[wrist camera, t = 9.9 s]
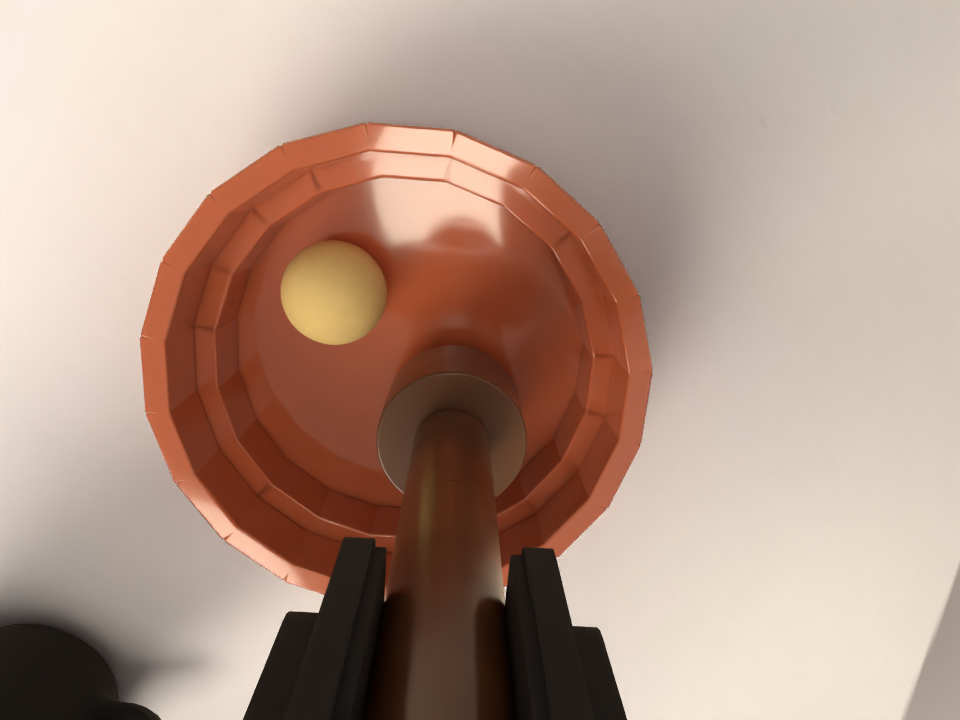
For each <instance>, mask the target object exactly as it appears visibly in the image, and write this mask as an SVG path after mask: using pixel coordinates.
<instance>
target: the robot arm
mask: <svg viewBox="0 0 960 720" xmlns="http://www.w3.org/2000/svg"><path fill="white" fill-rule="evenodd" d="M385 574H386V547H376V540H375V538H361V537H344V538H343V541H342V544H341V547H340V550H339V553H338V556H337V559H336V562H335V565H334V568H333V571H332V574H331V577H330V580H329V583H328V586H327V589H326V592H325V595H324V598H323V601H322V604H321V607H320V610H319V613H310V612H291V611H289V612H288V613H287V614H286V616H285V618H284V620H283V622H282V624H281V627H280V629H279V632H278V634H277V637H276V639H275V642H274V644H273V647H272V649H271V652H270V654H269V657H268V659H267V661H266V664H265V666H264V669H263V671H262V674H261V676H260V679H259V681H258V684H257V686H256V689H255V691H254V694H253V696H252V699H251V701H250V704H249V706H248V708H247V711H246V713H245V716H244V718H243V720H363V714H364V709H365V703H366V698H367V693H368V687H369V682H370V676H371V671H372V666H373V660H374V655H375V649H376V644H377V639H378V633H379V628H380V622H381V617H382V612H383V606H384V596H385ZM505 613H506V623H507V634H508V644H509V655H510V665H511V676H512V687H513V697H514V708H515V718H516V720H627V718H626V714H625V711H624V708H623V704H622V701H621V698H620V694H619V691H618V688H617V684H616V681H615V678H614V674H613V671H612V667H611V664H610V661H609V657H608V654H607V651H606V647H605V644H604V641H603V637H602V635H601V632H600V630H599V629H598V628H597V627H579V626H572V622H571V618H570V614H569V610H568V606H567V601H566V597H565V593H564V589H563V585H562V580H561V576H560V572H559V568H558V564H557V560H556V555H555V552H554V549H552V548H535V547H523V548H522V552H521V555H513V554H511V557H510V563H509V572H508V581H507V590H506V600H505Z"/></svg>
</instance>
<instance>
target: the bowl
mask: <svg viewBox="0 0 960 720" xmlns="http://www.w3.org/2000/svg"><path fill="white" fill-rule="evenodd" d="M329 240H337V241H344V242H348V243H351V244H353V245H356V246H358V247H359V248H361V249H363V250H364V251H366V252H367V253H368V254H369V255H370V256H371V257H372V258H373V259H374V260H375V261H376V262H377V264H378V265H379V267H380V269H381V270H382V273H383V275H384V278H385V281H386V286H387V302H386V306H385V310H384V312H383V315H382V317H381V319H380V321H379V322H378V323H377V325H376V326H375V327H374V328H373V329H372V330H371V331H370V332H369V333H368V334H367V335H365V336H364V337H362V338H360V339H359V340H356V341H354V342H350V343H347V344H341V345H330V344H323V343H320V342H317V341H314V340H312V339H310V338H308V337H306V336H305V335H303V334H302V333H300V332H299V331H298V330H297V329H296V328H295V327H294V326H293V324H292V323H291V322H290V320H289V319H288V317H287V315H286V313H285V311H284V308H283V305H282V301H281V282H282V278H283V275H284V272H285V270H286V268H287V266H288V264H289V263H290V261H291V260H292V259H293V258H294V257H295V256H296V255H297V254H298V253H299V252H300V251H301V250H303V249H304V248H306V247H308V246H310V245H312V244H314V243H318V242H322V241H329ZM140 345H141V358H142V372H143V385H144V399H145V412H146V413H147V414H146V416H147V418H148V421H149V423H150V425H151V428H152V430H153V432H154V435H155V437H156V440H157V442H158V444H159V447H160V449H161V451H162V454H163V456H164V459H165V461H166V463H167V466H168V468H169V471H170V473H171V475H172V478H173V480H174V482H175V483H177V486H178V487H179V488H180V490H181V491H182V492H183V493H184V494H185V495H186V497H187V498H188V499H189V500H190V501H191V503H192V504H193V505H194V506H195V507H196V509H197V510H198V511H199V512H200V513H201V514H202V516H203V517H204V518H205V519H206V520H207V522H208V523H209V524H210V525H211V526H212V528H213V529H214V530H215V531H216V532H217V533H218V535H219V536H220V537H221V538H222V539H225V542H227V543H228V544H230V545H231V546H233V547H234V548H236V549H237V550H239V551H240V552H242V553H243V554H245V555H246V556H248V557H249V558H251V559H252V560H254V561H255V562H257V563H258V564H260V565H261V566H263V567H264V568H266V569H267V570H269V571H270V572H272V573H273V574H275V575H276V576H278V577H279V578H281V579H282V580H285V582H287V583H290V584H293V585H296V586H299V587H302V588H306V589H309V590H312V591H315V592H318V593H321V594H324V595H325V592H326V589H327V586H328V583H329V580H330V577H331V574H332V571H333V568H334V565H335V562H336V559H337V556H338V553H339V550H340V547H341V544H342V541H343V538H344V537H361V538H375V540H376V547H386V574H385V592H386V587H387V582H388V576H389V571H390V565H391V560H392V555H393V549H394V544H395V539H396V533H397V528H398V523H399V517H400V512H401V507H402V501H403V496H404V494H402V493H401V492H400V491H399V490H398V489H397V488H396V487H395V486H394V485H393V484H392V483H391V482H390V480H389V479H388V477H387V476H386V474H385V473H384V470H383V468H382V466H381V464H380V461H379V458H378V453H377V448H376V435H377V428H378V424H379V420H380V417H381V414H382V411H383V408H384V405H385V402H386V399H387V396H388V394H389V391H390V388H391V385H392V383H393V381H394V379H395V377H396V375H397V374H398V372H399V371H400V370H401V369H402V367H403V366H404V365H405V364H406V363H407V362H408V361H410V360H411V359H412V358H414V357H415V356H417V355H418V354H420V353H422V352H424V351H427V350H429V349H432V348H436V347H440V346H447V345H459V346H466V347H470V348H474V349H477V350H479V351H482V352H484V353H486V354H487V355H489V356H491V357H492V358H494V359H495V360H496V361H498V362H499V363H500V364H501V365H502V366H503V367H504V369H505V370H506V371H507V372H508V374H509V375H510V377H511V379H512V381H513V383H514V385H515V388H516V391H517V395H518V399H519V403H520V407H521V411H522V415H523V419H524V423H525V427H526V434H527V449H526V454H525V458H524V461H523V464H522V467H521V469H520V471H519V473H518V475H517V476H516V478H515V479H514V481H513V482H512V483H511V484H510V485H509V486H508V488H507V489H505V490H504V491H503V492H502V493H501V494H500V495H498V496H497V497H495V503H496V514H497V524H498V534H499V545H500V555H501V565H502V576H503V586H504V587H505V586H507V581H508V572H509V563H510V557H511V554H513V555H521V552H522V548H523V547H535V548H552V549H554V552H555V555H556V557H559V556H560V555H561V554H562V553H563V552H564V551H565V550H566V549H567V548H568V547H569V546H570V545H571V544H572V543H573V542H574V541H575V540H576V539H577V538H578V537H579V536H580V535H581V534H582V533H583V532H584V531H585V530H586V529H587V528H588V527H589V526H590V525H591V524H592V523H593V522H594V521H595V520H596V519H597V518H598V517H599V516H600V515H601V514H602V513H603V512H604V511H605V510H606V508H608V507H609V505H610V503H611V501H612V499H613V497H614V495H615V493H616V492H617V490H618V488H619V486H620V484H621V482H622V480H623V478H624V476H625V474H626V472H627V470H628V468H629V467H630V465H631V463H632V461H633V459H634V457H635V455H636V453H637V451H638V449H639V447H640V444H641V440H642V434H643V428H644V422H645V416H646V409H647V403H648V397H649V391H650V385H651V378H652V364H651V358H650V352H649V346H648V340H647V334H646V328H645V323H644V317H643V311H642V305H641V299H640V296H639V295H638V291H637V289H636V287H635V285H634V284H633V282H632V280H631V278H630V276H629V274H628V273H627V271H626V269H625V267H624V265H623V263H622V262H621V260H620V258H619V256H618V254H617V253H616V251H615V249H614V247H613V245H612V243H611V242H610V240H609V238H608V236H607V234H606V232H605V231H604V229H603V227H602V225H600V224H599V222H598V220H597V219H595V218H594V217H593V216H592V215H591V214H590V213H589V212H588V211H587V210H586V209H585V208H583V207H582V206H581V205H580V204H579V203H578V202H577V201H576V200H575V199H574V198H572V197H571V196H570V195H569V194H568V193H567V192H566V191H565V190H564V189H563V188H562V187H560V186H559V185H558V184H557V183H556V182H555V181H554V180H553V179H552V178H551V177H549V176H548V175H547V174H546V173H545V172H544V171H543V170H542V169H541V168H540V167H536V165H535V164H533V163H531V162H529V161H527V160H524V159H522V158H520V157H517V156H515V155H513V154H511V153H508V152H506V151H504V150H501V149H499V148H497V147H495V146H492V145H490V144H488V143H485V142H483V141H481V140H479V139H476V138H474V137H472V136H469V135H467V134H465V133H463V132H460V131H456V132H455V130H453V129H444V128H432V127H420V126H408V125H396V124H384V123H372V122H368V123H367V124H366V123H361V124H357V125H353V126H349V127H345V128H341V129H337V130H333V131H329V132H326V133H322V134H318V135H314V136H310V137H306V138H302V139H298V140H294V141H291V142H287V143H283V144H282V146H277V147H275V148H274V149H273V150H271V151H270V152H268V153H267V154H265V155H264V156H262V157H261V158H259V159H258V160H256V161H255V162H253V163H252V164H250V165H249V166H248V167H246V168H245V169H243V170H242V171H240V172H239V173H237V174H236V175H234V176H233V177H231V178H230V179H228V180H227V181H225V182H224V183H222V184H221V185H220V186H218V187H217V188H215V189H214V190H212V192H211V194H208V195H207V196H206V198H205V199H204V201H203V202H202V203H201V205H200V206H199V208H198V209H197V210H196V212H195V213H194V215H193V216H192V217H191V219H190V220H189V222H188V223H187V224H186V226H185V227H184V229H183V230H182V231H181V233H180V234H179V236H178V237H177V238H176V240H175V241H174V243H173V244H172V245H171V247H170V248H169V250H168V251H167V252H166V254H165V255H164V257H163V261H161V263H160V267H159V270H158V274H157V277H156V281H155V285H154V288H153V292H152V296H151V299H150V303H149V307H148V310H147V314H146V318H145V321H144V325H143V328H142V332H141V337H140ZM384 598H385V596H384Z"/></svg>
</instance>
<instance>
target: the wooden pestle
mask: <svg viewBox="0 0 960 720" xmlns="http://www.w3.org/2000/svg"><path fill="white" fill-rule="evenodd" d="M376 448H377V453H378V458H379V461H380V464H381V466H382V468H383V470H384V473H385V474H386V476H387V477H388V479H389V480H390V482H391V483H392V484H393V485H394V486H395V487H396V488H397V489H398V490H399V491H400V492H401V493H402V494H404V496H403V501H402V507H401V512H400V517H399V523H398V528H397V533H396V539H395V544H394V549H393V555H392V560H391V565H390V571H389V576H388V582H387V587H386V592H385V598H384V606H383V612H382V617H381V622H380V628H379V633H378V639H377V644H376V649H375V655H374V660H373V666H372V671H371V676H370V682H369V687H368V693H367V698H366V703H365V709H364V714H363V720H516V718H515V708H514V697H513V687H512V676H511V665H510V655H509V644H508V634H507V623H506V613H505V596H504V586H503V576H502V565H501V555H500V545H499V534H498V524H497V514H496V503H495V497H497V496H498V495H500V494H501V493H502V492H503V491H504V490H505V489H507V488H508V486H509V485H510V484H511V483H512V482H513V481H514V479H515V478H516V476H517V475H518V473H519V471H520V469H521V467H522V464H523V461H524V458H525V454H526V449H527V434H526V427H525V423H524V419H523V415H522V411H521V407H520V403H519V399H518V395H517V391H516V388H515V385H514V383H513V381H512V379H511V377H510V375H509V374H508V372H507V371H506V370H505V369H504V367H503V366H502V365H501V364H500V363H499V362H498V361H496V360H495V359H494V358H492V357H491V356H489V355H487V354H486V353H484V352H482V351H479V350H477V349H474V348H470V347H466V346H459V345H447V346H440V347H436V348H432V349H429V350H427V351H424V352H422V353H420V354H418V355H417V356H415V357H414V358H412V359H411V360H410V361H408V362H407V363H406V364H405V365H404V366H403V367H402V369H401V370H400V371H399V372H398V374H397V375H396V377H395V379H394V381H393V383H392V385H391V388H390V391H389V394H388V396H387V399H386V402H385V405H384V408H383V411H382V414H381V417H380V420H379V424H378V428H377V435H376Z"/></svg>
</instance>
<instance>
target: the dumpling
mask: <svg viewBox="0 0 960 720" xmlns="http://www.w3.org/2000/svg"><path fill="white" fill-rule="evenodd" d="M281 301H282V305H283V308H284V311H285V313H286V315H287V317H288V319H289V320H290V322H291V323H292V324H293V326H294V327H295V328H296V329H297V330H298V331H299V332H300V333H302V334H303V335H305V336H306V337H308V338H310V339H312V340H314V341H317V342H320V343H323V344H330V345H341V344H347V343H350V342H354V341H356V340H359V339H360V338H362V337H364V336H365V335H367V334H368V333H369V332H370V331H371V330H372V329H373V328H374V327H375V326H376V325H377V323H378V322H379V321H380V319H381V317H382V315H383V312H384V310H385V306H386V302H387V286H386V281H385V278H384V275H383V273H382V270H381V269H380V267H379V265H378V264H377V262H376V261H375V260H374V259H373V258H372V257H371V256H370V255H369V254H368V253H367V252H366V251H364V250H363V249H361V248H359V247H358V246H356V245H353V244H351V243H348V242H344V241H337V240H329V241H322V242H318V243H314V244H312V245H310V246H308V247H306V248H304V249H303V250H301V251H300V252H299V253H298V254H297V255H296V256H295V257H294V258H293V259H292V260H291V261H290V263H289V264H288V266H287V268H286V270H285V272H284V275H283V278H282V282H281Z"/></svg>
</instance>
